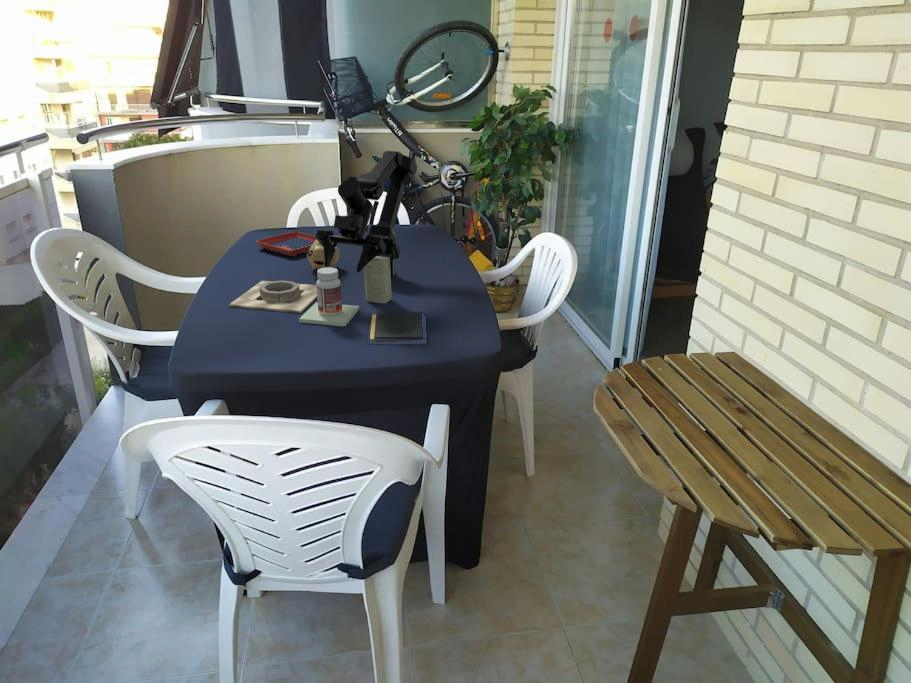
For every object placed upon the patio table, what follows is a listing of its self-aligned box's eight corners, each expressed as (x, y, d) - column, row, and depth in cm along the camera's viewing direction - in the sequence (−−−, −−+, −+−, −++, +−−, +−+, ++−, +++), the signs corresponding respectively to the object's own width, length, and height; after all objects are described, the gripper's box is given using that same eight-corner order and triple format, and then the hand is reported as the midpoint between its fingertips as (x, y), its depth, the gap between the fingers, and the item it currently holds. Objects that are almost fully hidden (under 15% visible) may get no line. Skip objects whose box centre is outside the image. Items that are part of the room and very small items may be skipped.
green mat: (359, 309, 173) (359, 306, 172) (344, 326, 162) (344, 322, 161) (316, 305, 174) (316, 302, 174) (299, 322, 164) (299, 318, 163)
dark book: (428, 340, 153) (363, 339, 152) (428, 347, 153) (364, 347, 153) (428, 309, 171) (370, 308, 170) (427, 316, 172) (370, 315, 171)
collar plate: (327, 288, 187) (326, 278, 186) (300, 313, 169) (300, 302, 168) (262, 282, 190) (261, 272, 189) (229, 306, 172) (228, 295, 171)
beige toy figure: (302, 275, 197) (300, 241, 193) (312, 263, 208) (310, 231, 204) (334, 276, 197) (333, 242, 193) (342, 264, 208) (341, 232, 204)
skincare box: (392, 299, 180) (391, 257, 175) (385, 304, 177) (384, 261, 172) (371, 296, 182) (370, 254, 177) (364, 301, 179) (362, 258, 174)
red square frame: (296, 239, 235) (295, 230, 233) (331, 248, 225) (330, 239, 224) (255, 250, 221) (254, 240, 220) (291, 260, 212) (290, 250, 211)
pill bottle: (346, 309, 169) (344, 268, 165) (334, 317, 164) (331, 275, 160) (326, 306, 172) (324, 265, 167) (313, 313, 166) (310, 271, 162)
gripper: (315, 199, 171) (297, 250, 166) (380, 205, 166) (364, 258, 161) (331, 221, 181) (314, 270, 176) (393, 228, 176) (377, 279, 171)
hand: (341, 269), depth 171 cm, fingers open, 9 cm apart
